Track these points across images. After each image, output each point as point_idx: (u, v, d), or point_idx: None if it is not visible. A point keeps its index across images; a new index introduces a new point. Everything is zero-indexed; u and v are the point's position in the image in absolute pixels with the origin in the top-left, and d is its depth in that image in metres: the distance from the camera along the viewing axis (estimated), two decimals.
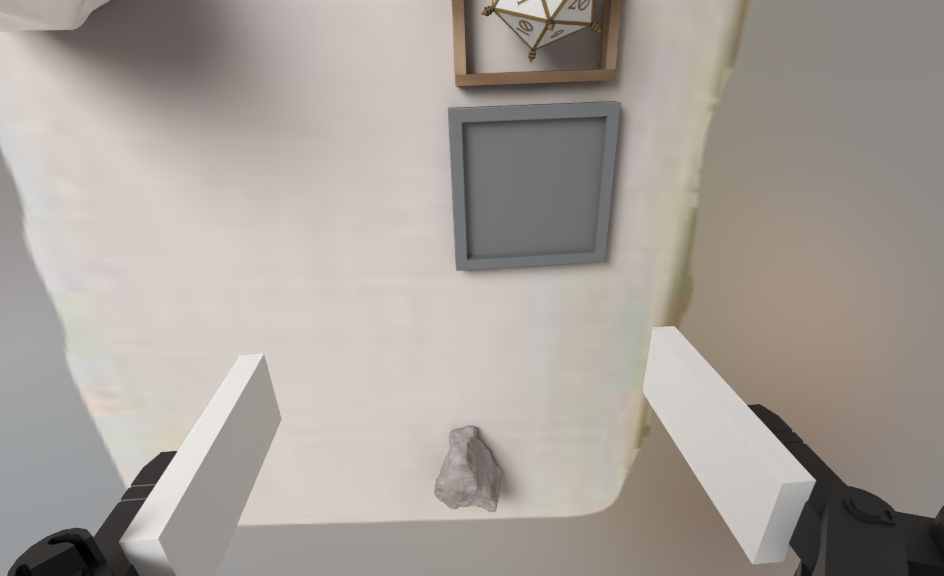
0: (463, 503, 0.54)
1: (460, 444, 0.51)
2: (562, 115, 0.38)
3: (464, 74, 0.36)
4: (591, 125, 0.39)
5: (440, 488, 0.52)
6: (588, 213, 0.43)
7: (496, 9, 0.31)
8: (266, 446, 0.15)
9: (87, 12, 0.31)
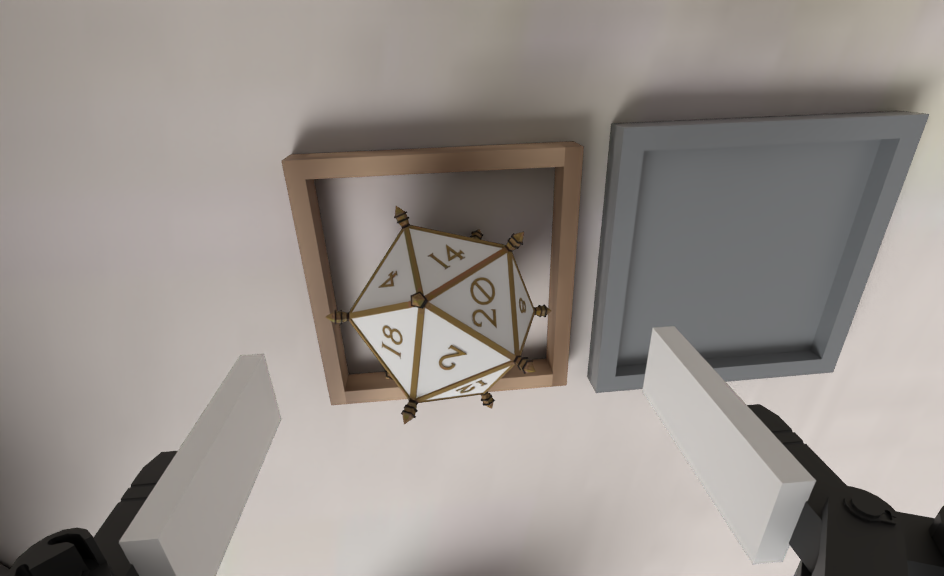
0: None
1: None
2: (629, 233, 0.22)
3: (552, 376, 0.25)
4: (649, 168, 0.22)
5: None
6: (808, 153, 0.22)
7: (486, 391, 0.21)
8: (266, 446, 0.15)
9: None
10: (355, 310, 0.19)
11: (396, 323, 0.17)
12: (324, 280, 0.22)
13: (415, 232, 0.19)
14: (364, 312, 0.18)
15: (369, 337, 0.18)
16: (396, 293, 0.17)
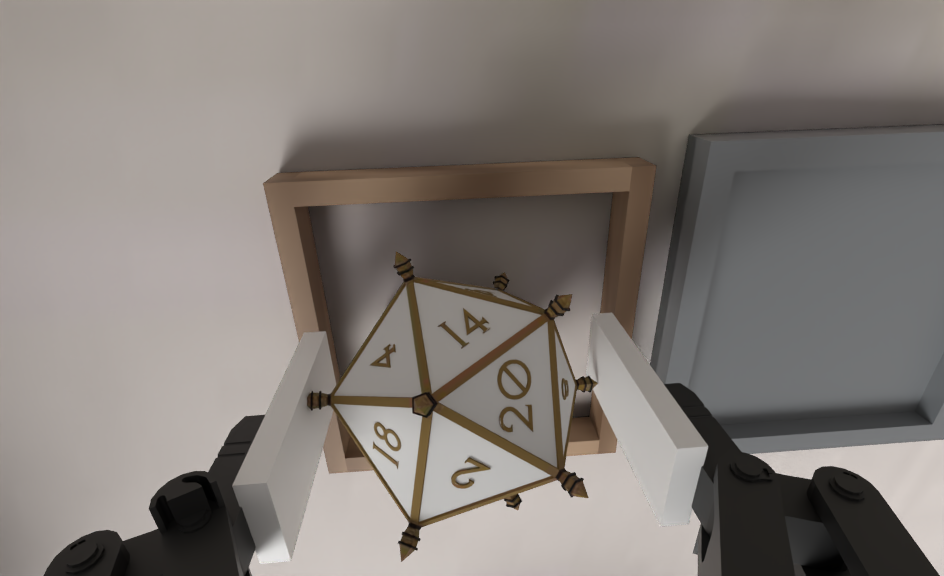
0: None
1: None
2: (707, 274, 0.17)
3: (599, 442, 0.20)
4: (735, 192, 0.17)
5: None
6: (943, 173, 0.17)
7: None
8: (329, 416, 0.16)
9: None
10: (339, 393, 0.14)
11: (392, 423, 0.12)
12: (319, 329, 0.17)
13: (422, 288, 0.14)
14: (350, 399, 0.13)
15: (356, 432, 0.13)
16: (393, 379, 0.12)
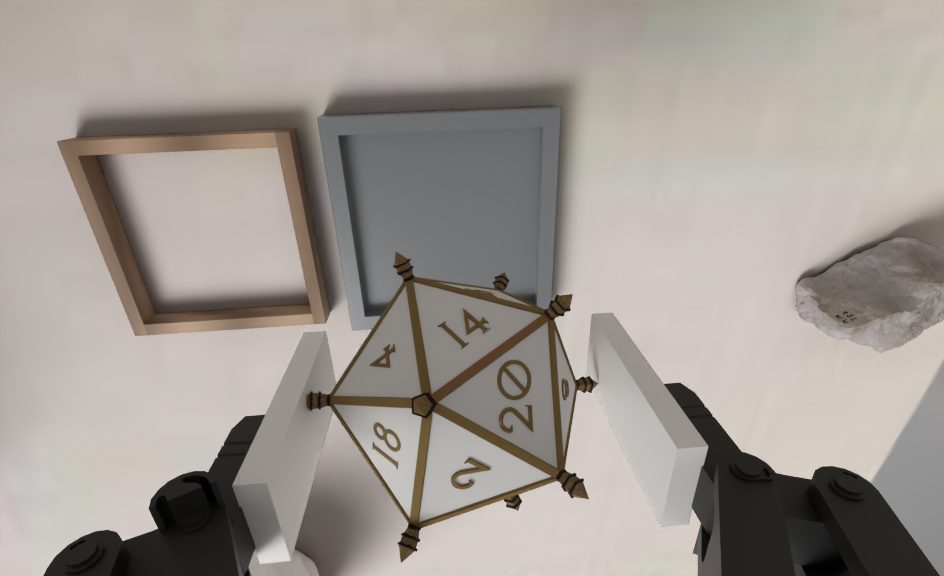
0: (940, 307, 0.33)
1: (818, 318, 0.34)
2: (343, 199, 0.29)
3: (312, 315, 0.32)
4: (356, 149, 0.28)
5: None
6: (482, 138, 0.28)
7: None
8: (329, 416, 0.16)
9: (306, 575, 0.41)
10: (338, 393, 0.14)
11: (392, 424, 0.12)
12: (109, 234, 0.28)
13: (421, 288, 0.14)
14: (349, 400, 0.13)
15: (356, 432, 0.13)
16: (393, 380, 0.12)
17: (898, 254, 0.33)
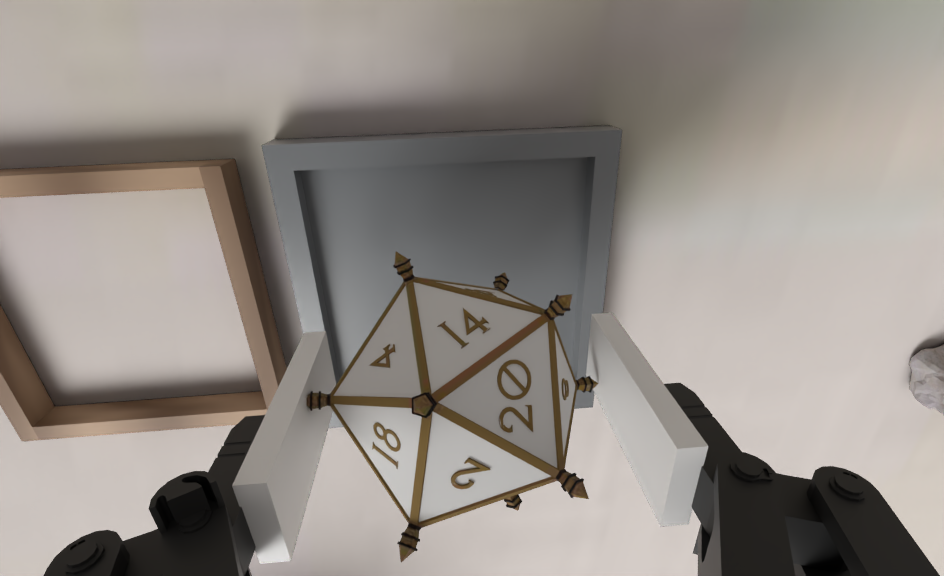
0: None
1: None
2: (306, 260, 0.20)
3: None
4: (323, 189, 0.19)
5: None
6: (505, 171, 0.20)
7: None
8: (329, 416, 0.16)
9: None
10: (338, 393, 0.14)
11: (392, 423, 0.12)
12: None
13: (421, 288, 0.14)
14: (349, 400, 0.13)
15: (356, 432, 0.13)
16: (393, 379, 0.12)
17: None
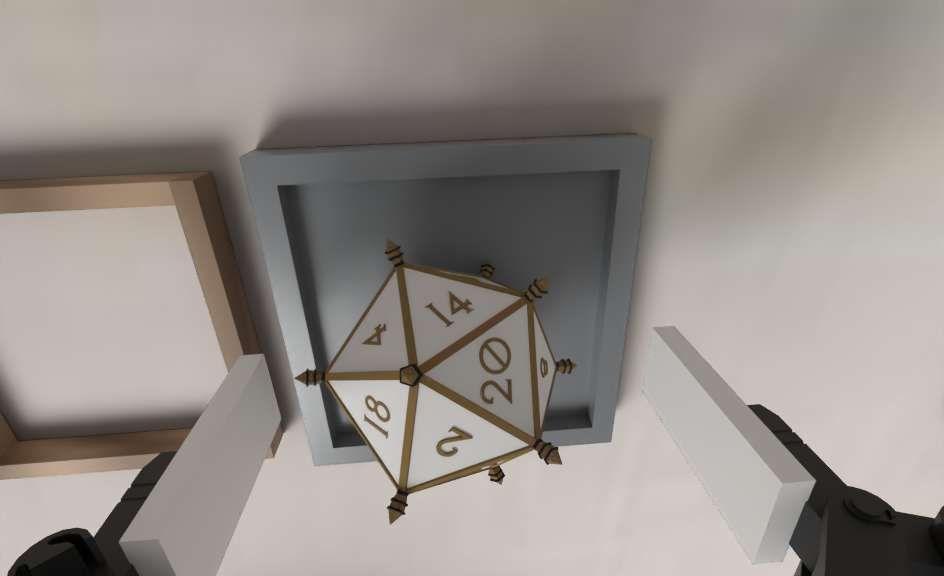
0: None
1: None
2: (292, 285, 0.18)
3: None
4: (311, 205, 0.17)
5: None
6: (518, 185, 0.18)
7: None
8: (266, 446, 0.15)
9: None
10: (332, 370, 0.15)
11: (382, 396, 0.13)
12: None
13: (411, 273, 0.15)
14: (343, 375, 0.14)
15: (349, 406, 0.14)
16: (383, 355, 0.13)
17: None
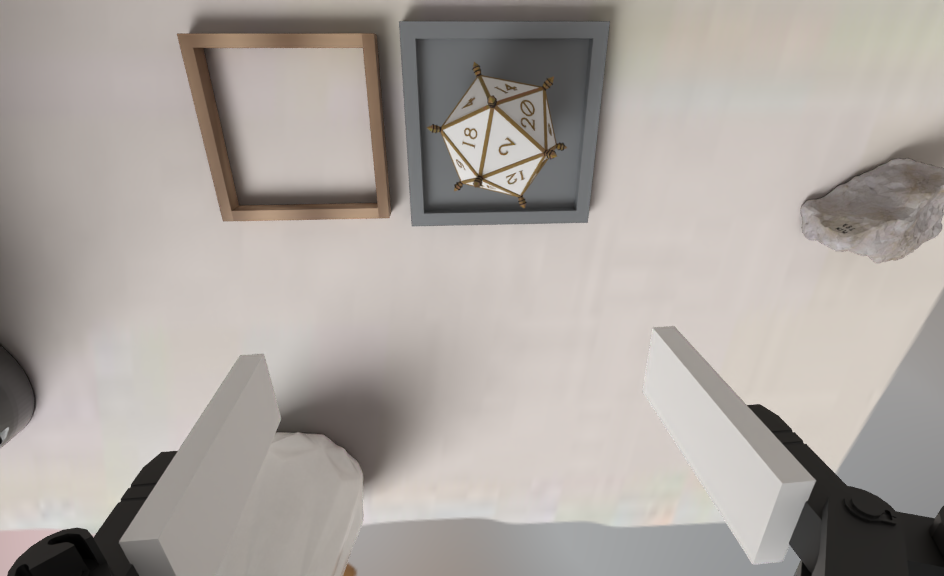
0: (933, 221, 0.37)
1: (821, 233, 0.37)
2: (415, 99, 0.33)
3: (378, 209, 0.36)
4: (428, 55, 0.32)
5: (888, 259, 0.37)
6: (538, 49, 0.33)
7: (522, 194, 0.32)
8: (266, 446, 0.15)
9: (351, 467, 0.46)
10: (445, 124, 0.30)
11: (474, 125, 0.28)
12: (211, 123, 0.33)
13: (485, 78, 0.30)
14: (452, 122, 0.29)
15: (454, 140, 0.29)
16: (475, 106, 0.28)
17: (894, 173, 0.37)
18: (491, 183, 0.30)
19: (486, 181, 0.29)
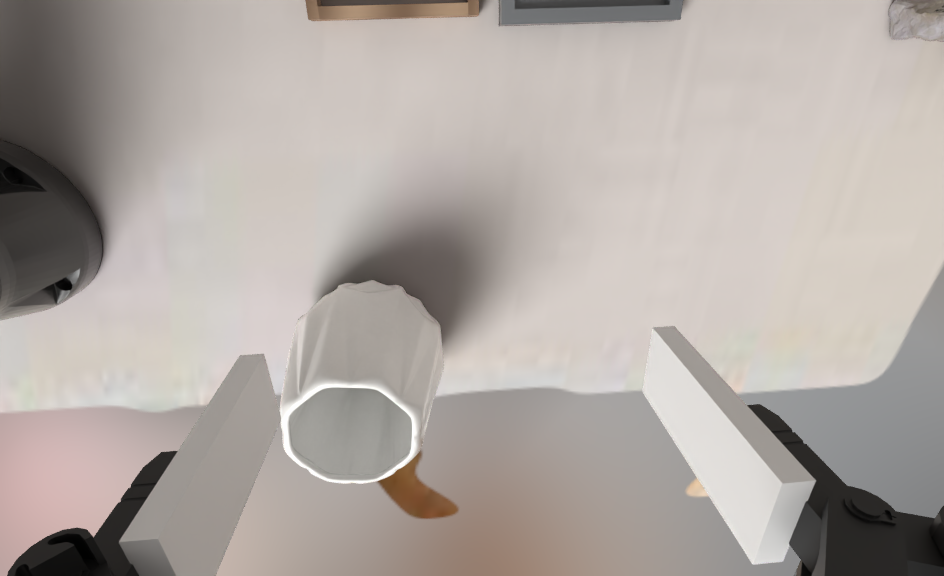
0: None
1: (916, 24, 0.36)
2: None
3: (468, 4, 0.35)
4: None
5: None
6: None
7: None
8: (266, 446, 0.15)
9: (428, 315, 0.44)
10: None
11: None
12: None
13: None
14: None
15: None
16: None
17: None
18: None
19: None
